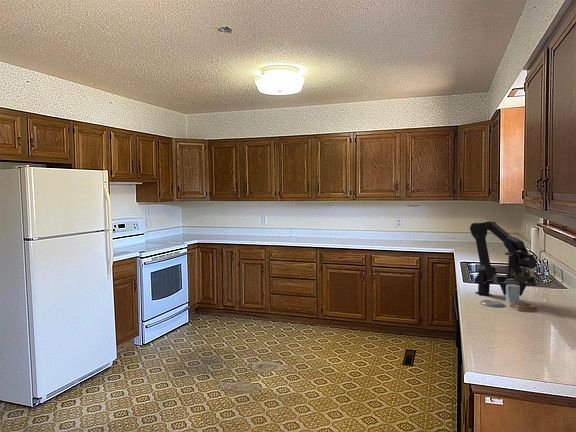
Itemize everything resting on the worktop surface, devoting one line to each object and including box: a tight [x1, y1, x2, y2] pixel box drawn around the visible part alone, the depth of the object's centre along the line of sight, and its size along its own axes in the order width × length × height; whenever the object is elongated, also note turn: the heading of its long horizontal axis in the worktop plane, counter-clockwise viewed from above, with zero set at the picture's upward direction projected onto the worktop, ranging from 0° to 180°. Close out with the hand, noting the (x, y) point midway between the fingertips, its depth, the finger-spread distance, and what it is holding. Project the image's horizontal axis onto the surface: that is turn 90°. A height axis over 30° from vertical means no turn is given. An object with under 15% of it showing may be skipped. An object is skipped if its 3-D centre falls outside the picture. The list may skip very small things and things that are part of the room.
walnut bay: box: [509, 301, 537, 312], centre depth 216 cm, size 8×8×2 cm
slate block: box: [505, 283, 520, 305], centre depth 226 cm, size 4×4×9 cm
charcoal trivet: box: [479, 299, 505, 308], centre depth 223 cm, size 11×11×1 cm
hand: (512, 295), depth 226 cm, fingers open, 8 cm apart
